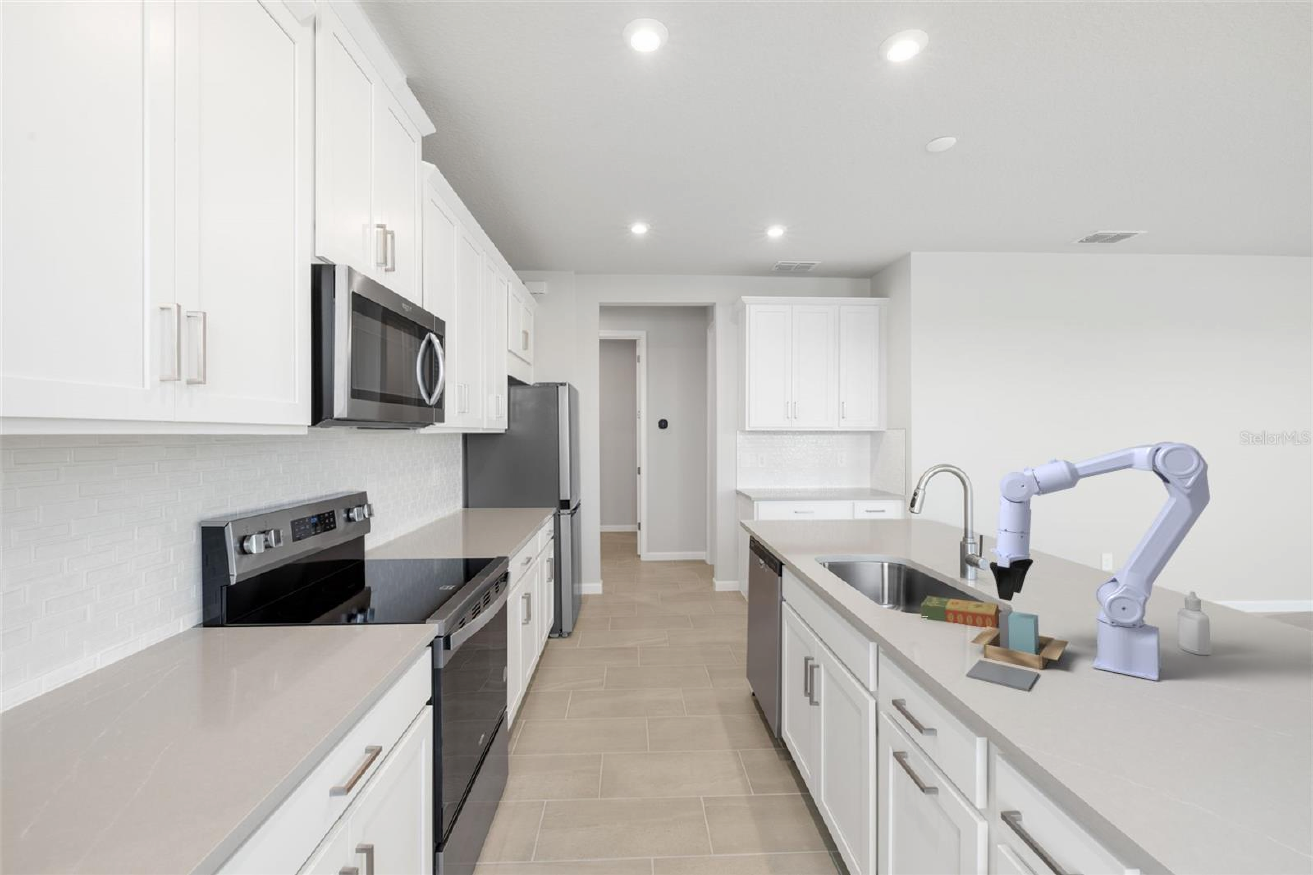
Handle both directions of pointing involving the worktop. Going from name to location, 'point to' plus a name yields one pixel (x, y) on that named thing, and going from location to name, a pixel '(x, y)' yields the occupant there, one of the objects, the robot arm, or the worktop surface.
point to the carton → (960, 611)
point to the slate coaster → (1003, 675)
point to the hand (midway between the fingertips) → (1009, 595)
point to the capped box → (1019, 631)
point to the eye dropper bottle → (1193, 627)
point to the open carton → (992, 640)
